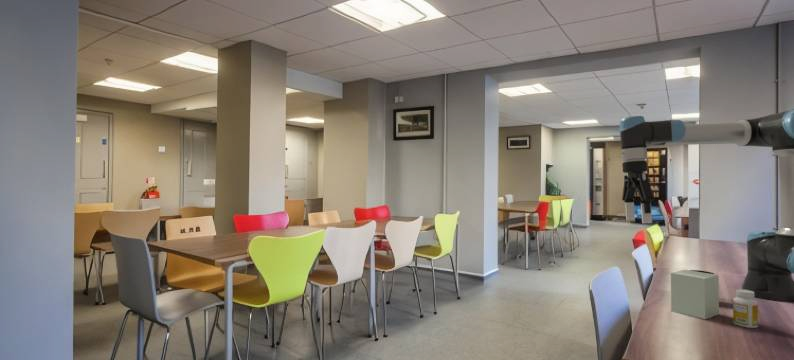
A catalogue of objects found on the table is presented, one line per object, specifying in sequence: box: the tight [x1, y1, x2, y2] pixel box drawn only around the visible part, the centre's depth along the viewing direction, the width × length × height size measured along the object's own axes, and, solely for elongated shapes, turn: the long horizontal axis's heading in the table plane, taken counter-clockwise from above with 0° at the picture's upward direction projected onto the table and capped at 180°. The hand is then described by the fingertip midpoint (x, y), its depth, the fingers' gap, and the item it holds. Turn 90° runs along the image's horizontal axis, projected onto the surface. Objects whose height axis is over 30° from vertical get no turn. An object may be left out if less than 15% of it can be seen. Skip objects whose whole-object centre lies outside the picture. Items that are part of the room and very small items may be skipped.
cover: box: [670, 269, 720, 320], centre depth 126 cm, size 9×9×12 cm
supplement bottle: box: [732, 288, 759, 329], centre depth 115 cm, size 5×5×10 cm
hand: (638, 221), depth 139 cm, fingers open, 13 cm apart
